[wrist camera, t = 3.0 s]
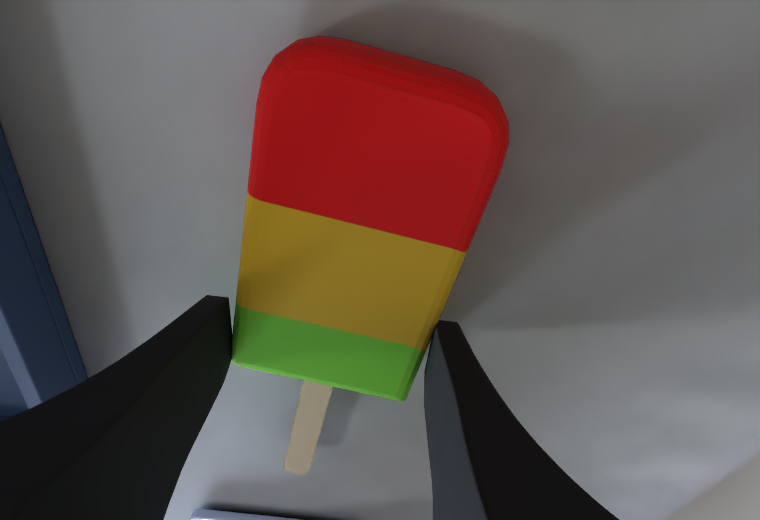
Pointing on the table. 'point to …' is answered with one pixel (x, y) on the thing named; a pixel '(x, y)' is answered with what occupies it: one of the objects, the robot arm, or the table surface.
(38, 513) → the robot arm
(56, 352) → the tray
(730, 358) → the table surface
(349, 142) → the popsicle
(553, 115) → the table surface
